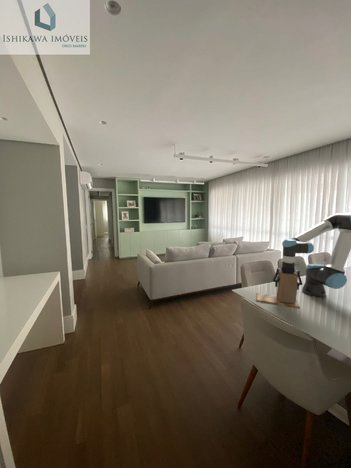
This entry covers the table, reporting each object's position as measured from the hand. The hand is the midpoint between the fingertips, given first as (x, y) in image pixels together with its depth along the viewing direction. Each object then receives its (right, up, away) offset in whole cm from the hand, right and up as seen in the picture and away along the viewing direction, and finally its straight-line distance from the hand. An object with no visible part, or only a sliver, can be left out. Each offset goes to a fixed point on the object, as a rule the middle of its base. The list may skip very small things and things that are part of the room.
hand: (286, 292), depth 135 cm
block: (0, -6, +1) cm, 6 cm away
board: (-5, -7, +3) cm, 9 cm away
